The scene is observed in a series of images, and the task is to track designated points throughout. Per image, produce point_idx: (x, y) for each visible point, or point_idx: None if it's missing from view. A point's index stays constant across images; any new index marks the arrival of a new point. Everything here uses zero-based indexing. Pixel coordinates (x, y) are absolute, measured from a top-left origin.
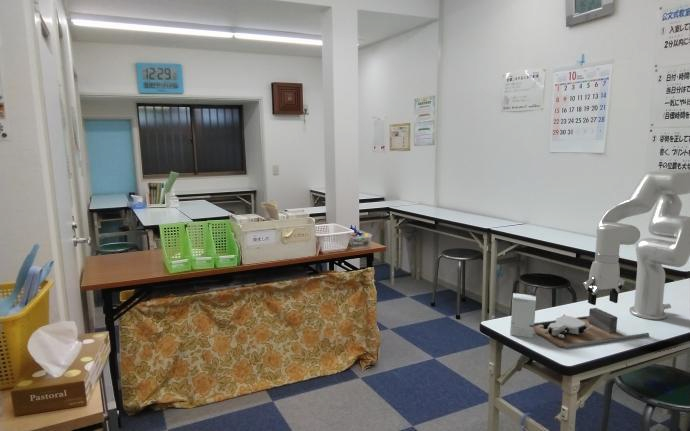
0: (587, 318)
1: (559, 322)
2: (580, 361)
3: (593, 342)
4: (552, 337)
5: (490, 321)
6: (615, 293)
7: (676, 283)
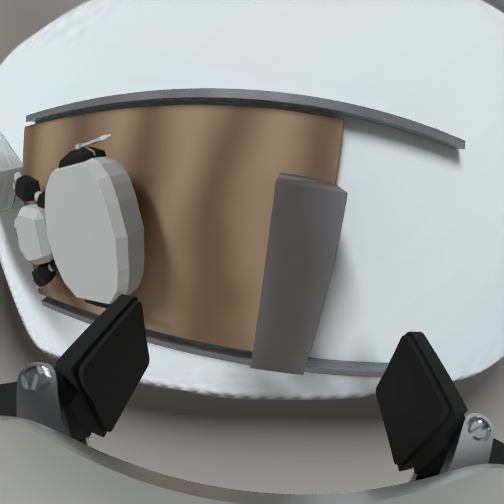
0: (341, 114)
1: (45, 212)
2: (61, 354)
3: None
4: None
5: (2, 63)
6: (402, 456)
7: None
